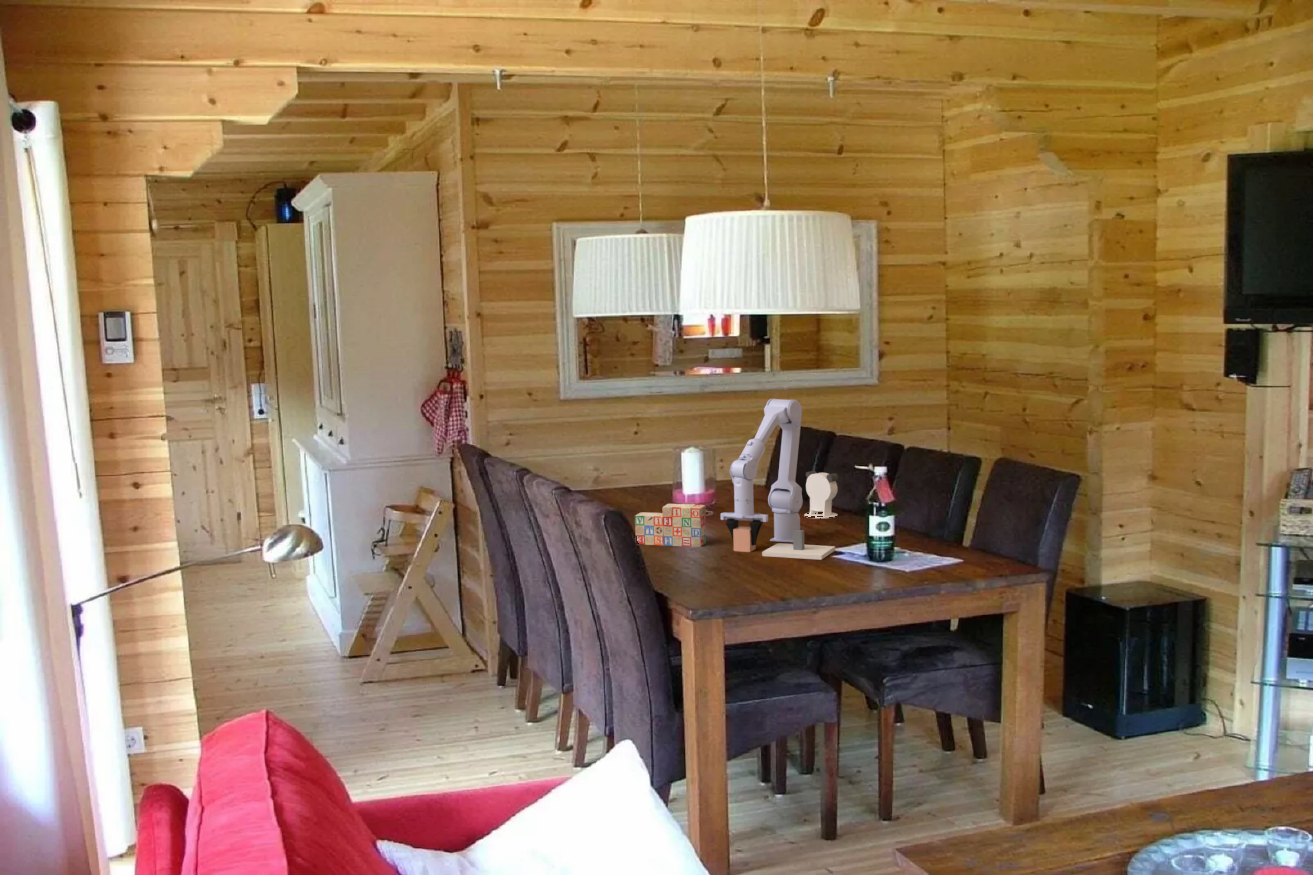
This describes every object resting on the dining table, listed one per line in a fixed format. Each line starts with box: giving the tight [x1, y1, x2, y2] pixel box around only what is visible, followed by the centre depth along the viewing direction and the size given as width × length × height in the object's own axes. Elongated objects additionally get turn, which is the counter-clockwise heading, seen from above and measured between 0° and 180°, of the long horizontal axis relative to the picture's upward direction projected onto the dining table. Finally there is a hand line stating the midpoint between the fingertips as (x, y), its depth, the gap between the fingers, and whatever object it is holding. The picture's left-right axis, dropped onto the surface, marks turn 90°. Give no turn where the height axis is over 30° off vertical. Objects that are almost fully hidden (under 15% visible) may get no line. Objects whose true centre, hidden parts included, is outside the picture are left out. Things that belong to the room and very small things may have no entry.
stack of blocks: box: [634, 503, 707, 548], centre depth 392 cm, size 21×6×12 cm, turn 72°
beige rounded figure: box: [804, 470, 839, 519], centre depth 434 cm, size 12×11×15 cm
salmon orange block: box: [732, 525, 757, 553], centre depth 379 cm, size 5×5×7 cm
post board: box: [761, 529, 836, 561], centre depth 372 cm, size 14×18×7 cm
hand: (744, 544), depth 379 cm, fingers closed on salmon orange block, 5 cm apart
